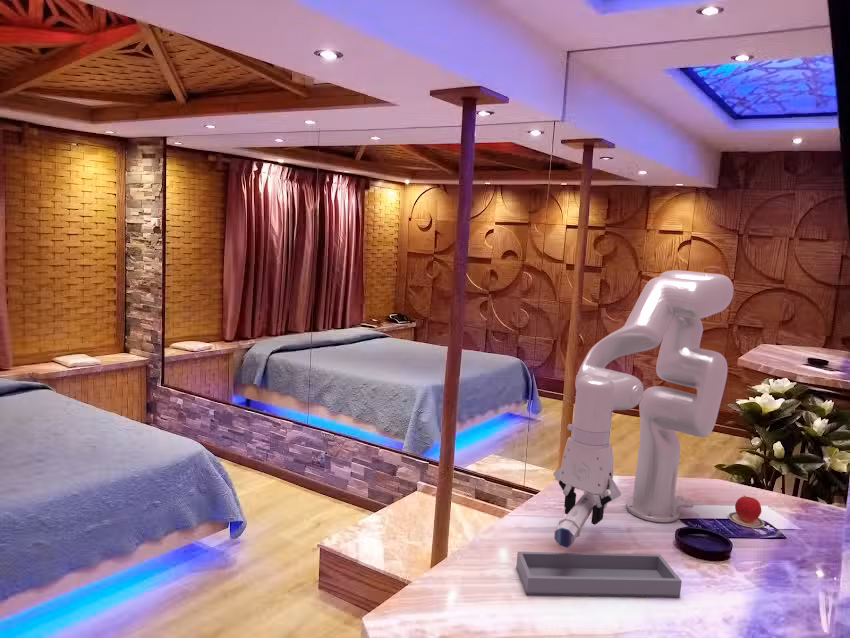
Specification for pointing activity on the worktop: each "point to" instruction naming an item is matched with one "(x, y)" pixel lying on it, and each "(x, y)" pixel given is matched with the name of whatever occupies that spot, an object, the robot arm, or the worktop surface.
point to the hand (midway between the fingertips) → (582, 516)
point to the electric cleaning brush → (575, 520)
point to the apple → (747, 513)
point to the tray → (597, 575)
